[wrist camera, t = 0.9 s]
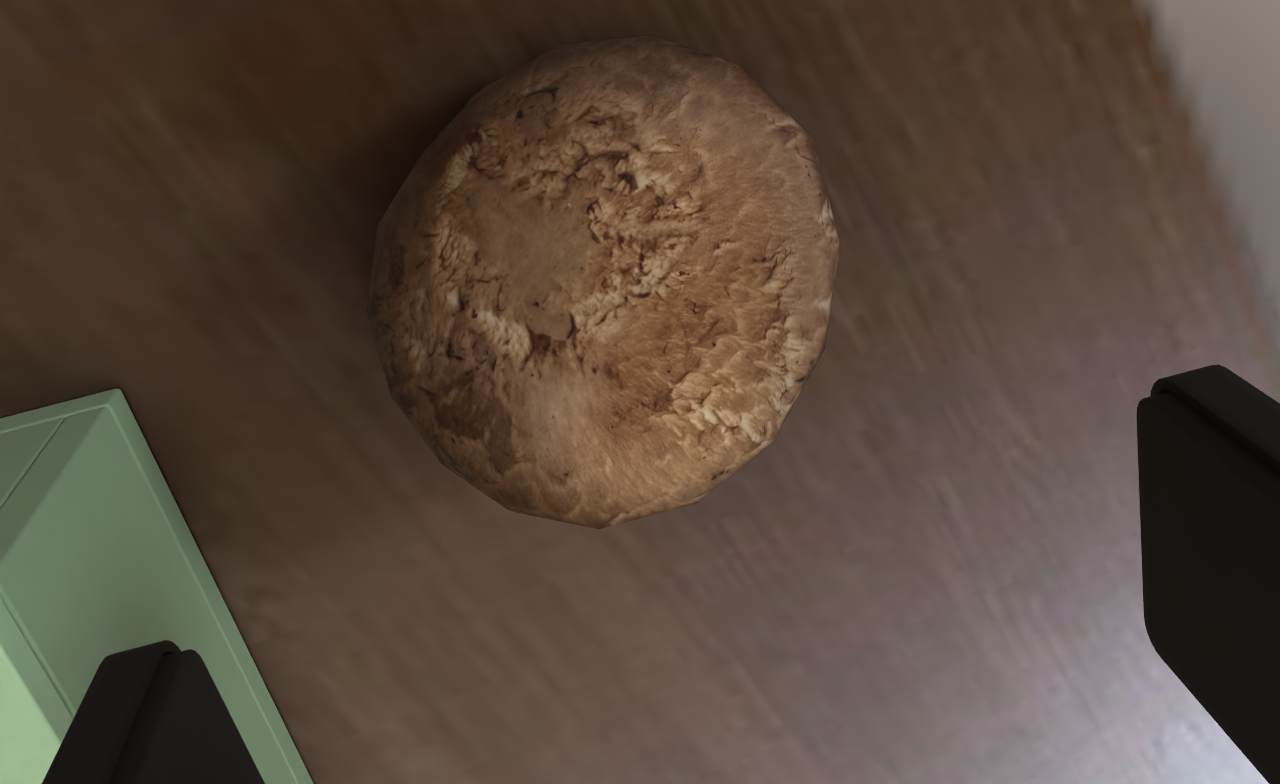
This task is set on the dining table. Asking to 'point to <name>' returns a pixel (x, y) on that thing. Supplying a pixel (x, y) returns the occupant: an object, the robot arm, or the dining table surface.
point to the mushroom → (606, 281)
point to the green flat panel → (26, 710)
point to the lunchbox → (116, 565)
